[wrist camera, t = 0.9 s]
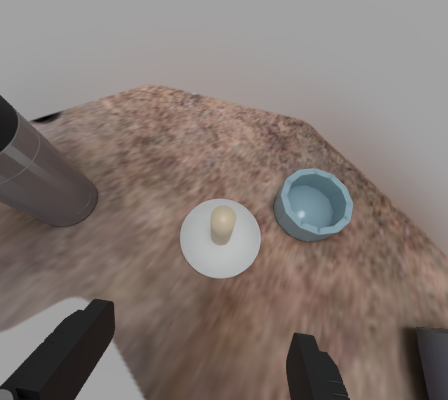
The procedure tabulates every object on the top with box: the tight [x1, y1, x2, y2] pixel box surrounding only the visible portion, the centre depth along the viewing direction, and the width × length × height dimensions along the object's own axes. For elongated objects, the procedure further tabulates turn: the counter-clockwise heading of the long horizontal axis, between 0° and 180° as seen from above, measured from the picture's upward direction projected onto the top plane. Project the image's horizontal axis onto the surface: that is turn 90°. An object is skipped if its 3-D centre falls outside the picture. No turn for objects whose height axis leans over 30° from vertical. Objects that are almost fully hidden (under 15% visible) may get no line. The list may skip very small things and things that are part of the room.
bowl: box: [274, 168, 353, 242], centre depth 37 cm, size 11×11×5 cm
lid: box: [180, 199, 261, 279], centre depth 32 cm, size 13×13×10 cm
